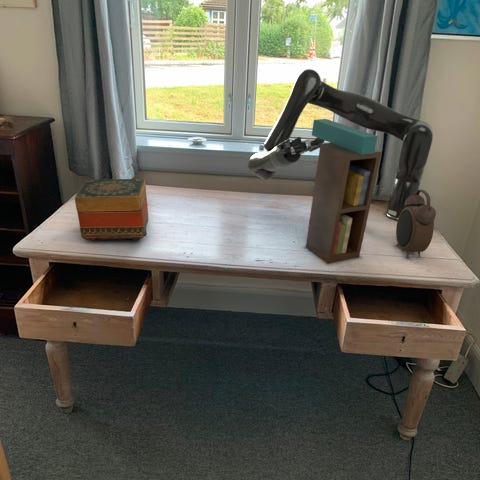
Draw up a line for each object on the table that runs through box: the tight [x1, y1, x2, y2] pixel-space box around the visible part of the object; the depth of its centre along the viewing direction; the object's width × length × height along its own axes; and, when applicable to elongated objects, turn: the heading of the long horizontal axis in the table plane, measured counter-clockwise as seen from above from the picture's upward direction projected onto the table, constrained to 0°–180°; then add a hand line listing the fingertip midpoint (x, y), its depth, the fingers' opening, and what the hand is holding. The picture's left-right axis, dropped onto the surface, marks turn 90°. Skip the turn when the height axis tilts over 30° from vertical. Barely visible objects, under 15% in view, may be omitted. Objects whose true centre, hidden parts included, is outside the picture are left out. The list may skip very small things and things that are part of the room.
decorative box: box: [74, 178, 149, 242], centre depth 149 cm, size 20×22×16 cm
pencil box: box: [311, 118, 378, 155], centre depth 134 cm, size 22×5×4 cm, turn 30°
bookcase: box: [305, 142, 383, 265], centre depth 142 cm, size 12×12×32 cm
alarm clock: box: [395, 189, 437, 259], centre depth 148 cm, size 14×7×20 cm, turn 5°
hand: (311, 139), depth 147 cm, fingers open, 8 cm apart
